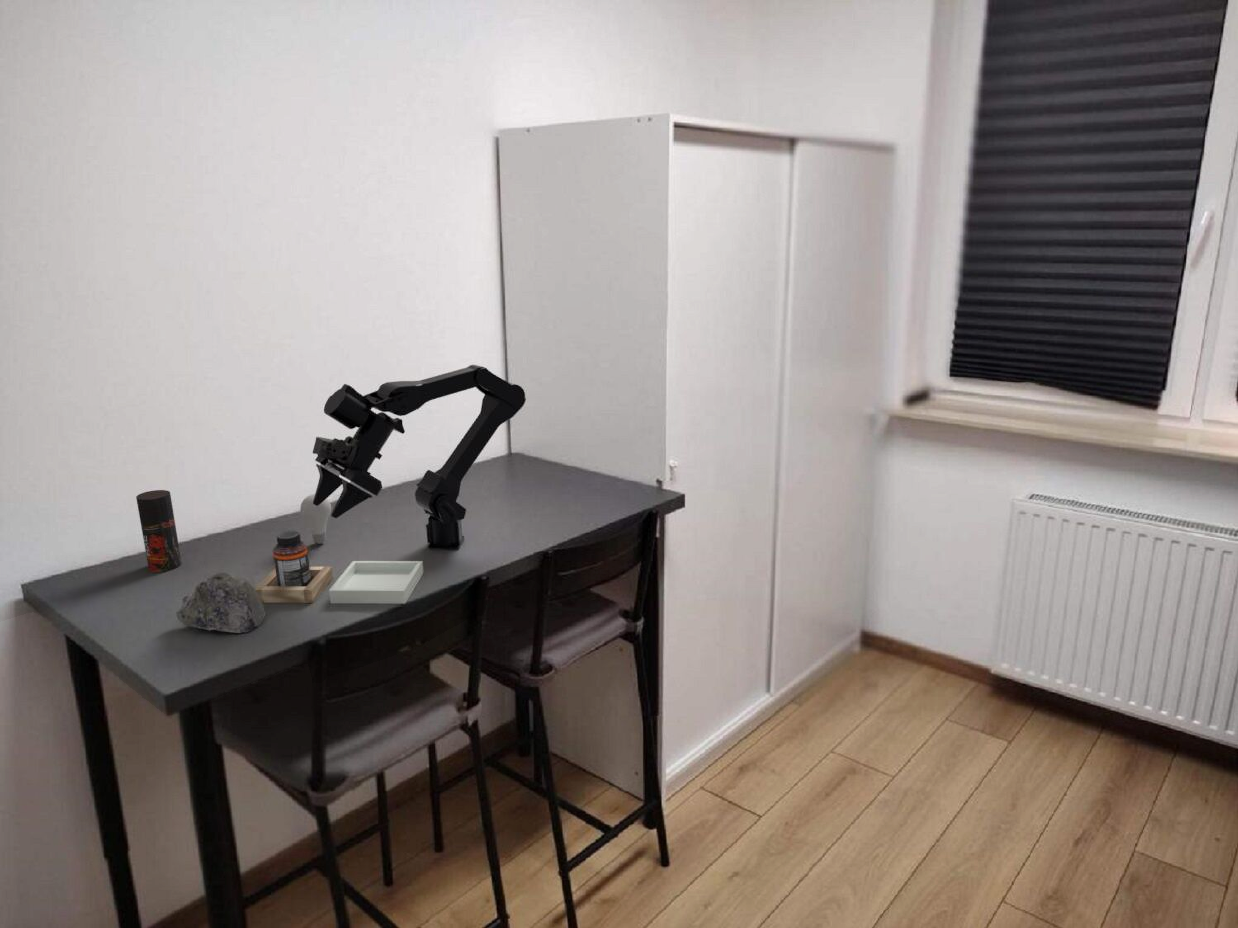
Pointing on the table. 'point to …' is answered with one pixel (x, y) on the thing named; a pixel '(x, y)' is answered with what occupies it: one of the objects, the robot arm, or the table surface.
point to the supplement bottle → (291, 560)
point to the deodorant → (159, 530)
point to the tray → (377, 582)
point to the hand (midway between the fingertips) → (323, 510)
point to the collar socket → (295, 588)
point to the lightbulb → (316, 517)
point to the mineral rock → (222, 605)
